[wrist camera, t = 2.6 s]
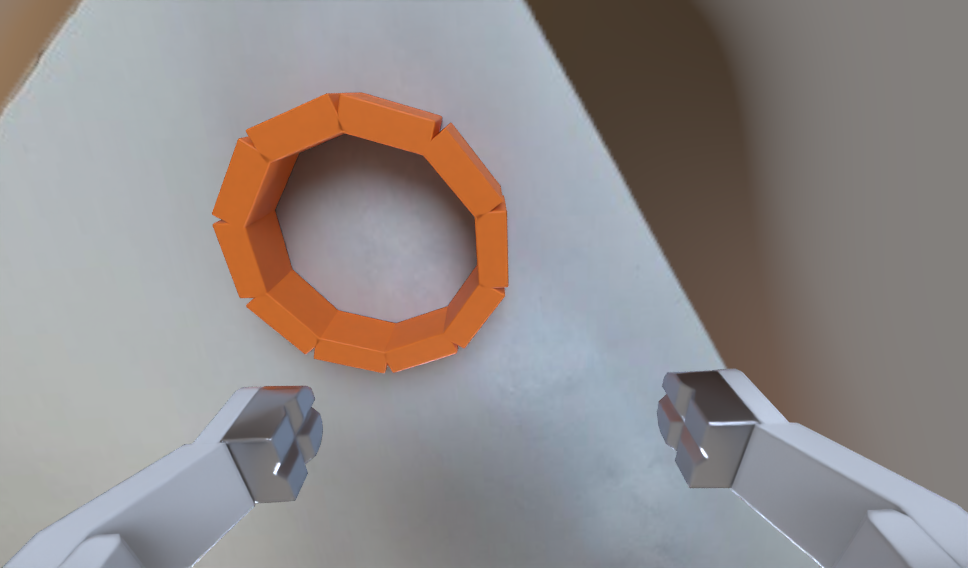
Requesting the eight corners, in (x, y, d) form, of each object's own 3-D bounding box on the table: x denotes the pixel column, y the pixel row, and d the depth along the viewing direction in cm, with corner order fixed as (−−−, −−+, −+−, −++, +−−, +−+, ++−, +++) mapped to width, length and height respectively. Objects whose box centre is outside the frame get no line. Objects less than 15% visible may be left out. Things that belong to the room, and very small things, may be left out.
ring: (501, 84, 17) (504, 84, 14) (507, 338, 23) (510, 369, 20) (211, 100, 17) (165, 102, 15) (292, 346, 23) (268, 377, 21)
